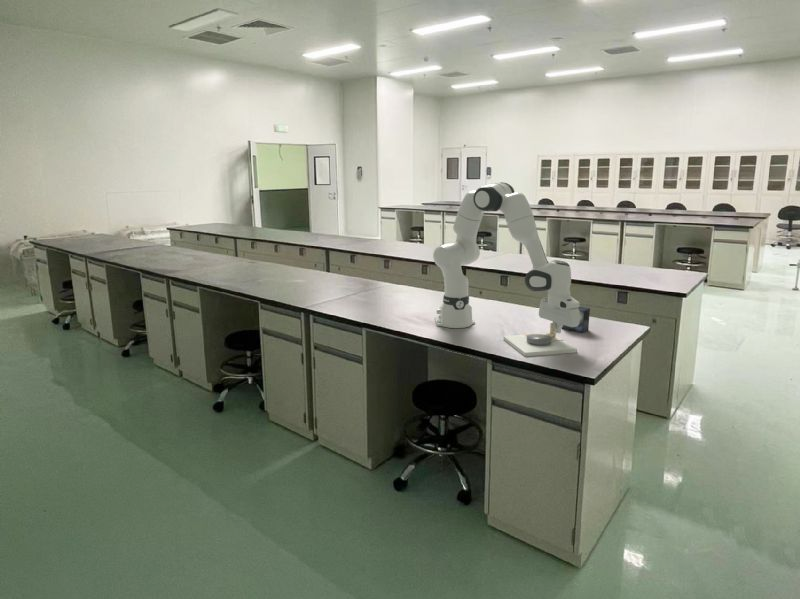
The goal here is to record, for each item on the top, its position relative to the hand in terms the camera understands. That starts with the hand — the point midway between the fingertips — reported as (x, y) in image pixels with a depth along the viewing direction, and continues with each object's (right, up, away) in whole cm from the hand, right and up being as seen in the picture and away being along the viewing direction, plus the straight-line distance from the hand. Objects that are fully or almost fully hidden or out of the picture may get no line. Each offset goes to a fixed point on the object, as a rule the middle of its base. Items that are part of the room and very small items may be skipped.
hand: (557, 332), depth 216 cm
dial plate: (-8, -5, -2) cm, 10 cm away
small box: (+14, 0, +20) cm, 24 cm away
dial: (-6, -3, -1) cm, 7 cm away
